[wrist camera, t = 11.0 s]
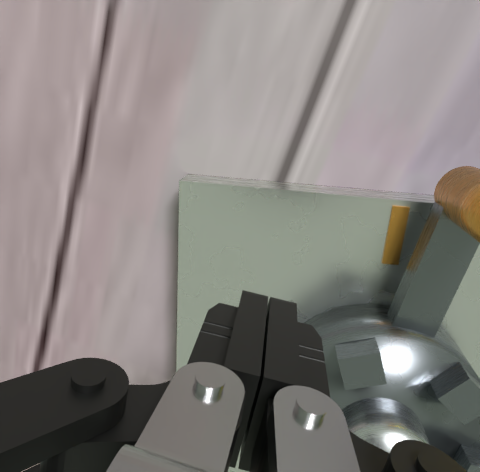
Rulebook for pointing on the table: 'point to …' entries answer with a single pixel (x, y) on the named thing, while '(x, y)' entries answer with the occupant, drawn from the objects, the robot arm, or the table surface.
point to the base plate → (303, 252)
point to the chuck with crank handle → (413, 341)
